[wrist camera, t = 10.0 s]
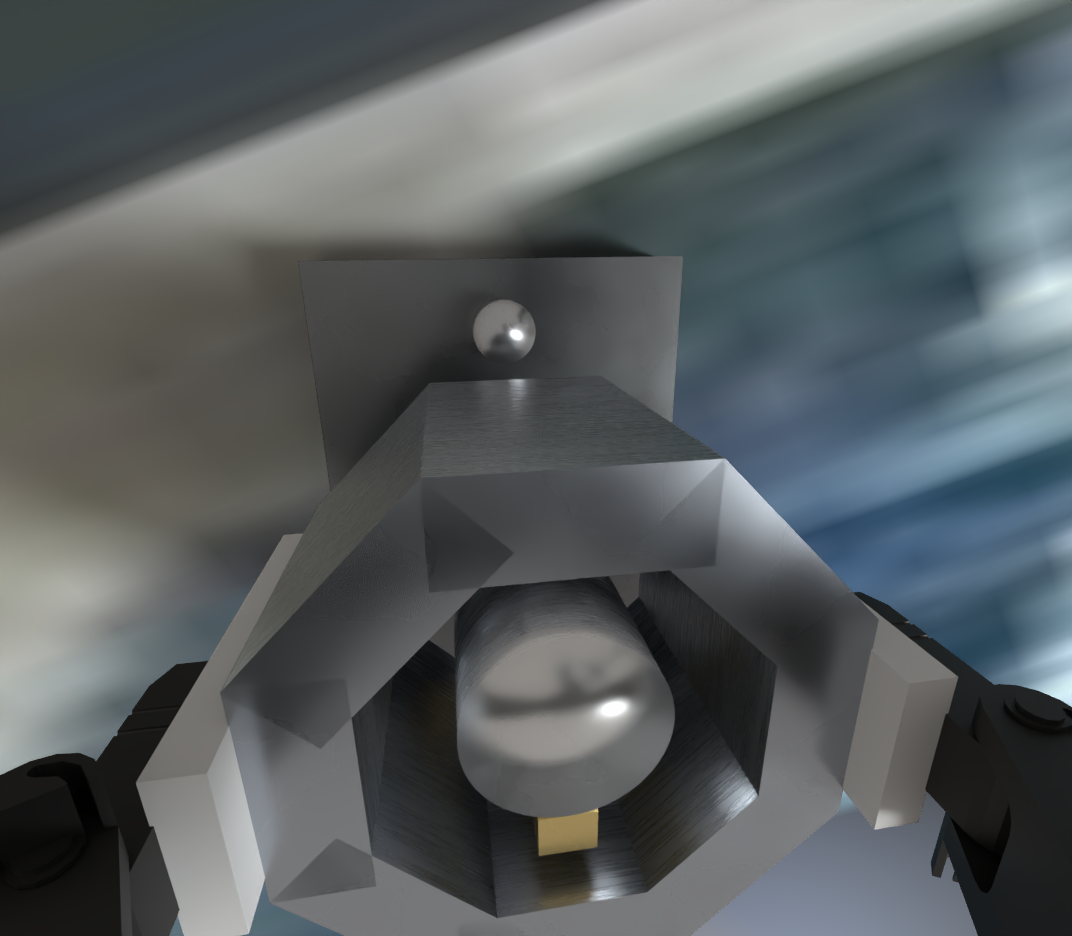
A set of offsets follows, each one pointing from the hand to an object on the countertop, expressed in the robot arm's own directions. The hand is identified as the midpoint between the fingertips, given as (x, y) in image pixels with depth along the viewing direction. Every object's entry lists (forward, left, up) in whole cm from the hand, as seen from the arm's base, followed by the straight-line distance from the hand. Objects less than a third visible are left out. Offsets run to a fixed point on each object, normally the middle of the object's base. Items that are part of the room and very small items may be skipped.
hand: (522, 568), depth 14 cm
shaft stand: (0, 0, -6) cm, 6 cm away
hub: (0, 0, 0) cm, 0 cm away
